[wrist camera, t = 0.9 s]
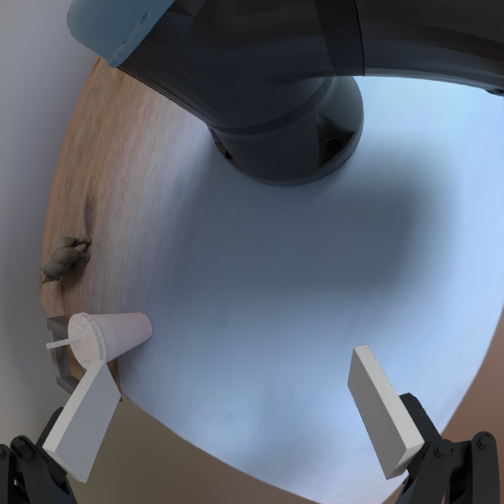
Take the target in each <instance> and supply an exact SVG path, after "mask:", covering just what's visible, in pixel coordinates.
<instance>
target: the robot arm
mask: <svg viewBox="0 0 504 504" xmlns="http://www.w3.org/2000/svg"><path fill="white" fill-rule="evenodd" d="M67 24H68V27H69V30H70V33H71V35H72V36H73V37H74V38H75V39H76V40H77V41H78V42H80V43H81V44H83V45H85V46H86V47H88V48H89V49H91V50H92V51H94V52H95V53H97V54H98V55H100V56H101V57H103V58H104V59H105V61H106V63H107V65H109V66H111V67H113V68H115V67H116V68H118V69H120V70H121V71H123V72H125V73H127V74H128V75H130V76H132V77H134V78H135V79H137V80H139V81H140V82H142V83H144V84H145V85H147V86H149V87H150V88H152V89H154V90H155V91H157V92H159V93H160V94H162V95H163V96H165V97H167V98H168V99H170V100H171V101H173V102H175V103H176V104H178V105H179V106H181V107H182V108H184V109H185V110H187V111H188V112H190V113H191V114H193V115H194V116H196V117H197V118H199V119H201V120H202V121H203V122H205V123H206V125H207V127H208V129H209V131H210V133H211V135H212V137H213V139H214V141H215V144H216V146H217V148H218V149H219V151H220V153H221V154H222V155H223V157H224V158H225V159H226V160H227V161H228V162H229V163H230V164H231V165H232V166H233V167H234V168H236V169H237V170H239V171H240V172H242V173H244V174H245V175H247V176H248V177H250V178H252V179H254V180H256V181H259V182H262V183H265V184H269V185H275V186H296V185H302V184H306V183H310V182H313V181H316V180H318V179H321V178H323V177H325V176H327V175H328V174H330V173H331V172H333V171H334V170H336V169H337V168H338V167H340V166H341V165H342V164H343V163H344V162H345V161H346V160H347V159H348V158H349V156H350V155H351V154H352V152H353V151H354V149H355V148H356V146H357V144H358V142H359V139H360V137H361V133H362V129H363V123H364V112H363V101H362V96H361V93H360V90H359V87H358V85H357V83H356V81H355V79H354V78H353V76H378V77H401V78H415V79H425V80H434V81H441V82H448V83H455V84H461V85H466V86H471V87H476V88H481V89H484V90H486V91H487V92H489V93H491V94H494V95H498V96H503V97H504V0H73V1H72V3H71V5H70V8H69V11H68V15H67ZM347 385H348V387H349V390H350V392H351V394H352V396H353V399H354V401H355V404H356V406H357V408H358V411H359V413H360V415H361V418H362V420H363V423H364V425H365V427H366V430H367V432H368V435H369V437H370V440H371V442H372V444H373V447H374V449H375V452H376V454H377V457H378V459H379V462H380V465H381V467H382V470H383V472H384V475H385V477H386V480H388V479H391V478H394V477H397V476H399V475H402V474H403V473H404V471H405V470H406V469H407V470H408V473H409V475H408V476H407V478H406V479H405V480H404V482H403V483H402V484H404V487H403V488H402V491H401V493H400V495H399V497H398V499H397V501H396V503H395V504H441V502H442V499H443V497H444V494H445V502H444V504H500V484H499V467H498V456H497V447H496V441H495V438H494V436H493V435H492V434H491V433H489V432H479V433H477V434H476V435H475V436H474V437H473V439H472V440H469V441H464V442H458V443H452V442H451V441H450V440H447V439H443V438H442V437H441V436H440V434H439V433H438V431H437V429H436V428H435V426H434V425H433V423H432V421H431V420H430V418H429V416H428V415H427V414H426V412H425V410H424V408H422V405H421V404H420V402H419V401H418V399H417V398H416V397H414V396H413V395H412V394H410V393H406V394H403V395H400V396H398V394H397V393H396V391H395V389H394V388H393V386H392V384H391V383H390V381H389V379H388V378H387V376H386V374H385V373H384V371H383V369H382V368H381V366H380V364H379V363H378V361H377V360H376V358H375V356H374V355H373V353H372V352H371V350H370V348H369V347H368V345H362V346H357V347H353V354H352V361H351V367H350V373H349V379H348V384H347ZM120 397H121V394H120V392H119V390H118V388H117V386H116V384H115V382H114V380H113V377H112V375H111V373H110V371H109V369H108V366H107V364H106V362H105V361H102V360H94V361H93V362H92V364H91V365H90V367H89V368H88V370H87V372H86V373H85V375H84V376H83V378H82V379H81V381H80V383H79V384H78V386H77V387H76V389H75V391H74V392H73V394H72V396H71V397H70V399H69V401H68V402H67V404H66V406H65V407H64V408H63V407H60V408H59V409H58V410H56V411H55V412H54V413H53V415H52V417H51V418H50V421H49V422H48V423H47V427H45V429H44V430H43V432H42V434H41V436H40V438H39V439H38V441H37V443H36V445H34V444H33V443H32V442H31V441H30V440H29V439H28V438H27V437H26V436H23V435H22V436H17V437H15V438H14V439H13V440H12V442H11V444H10V448H8V446H6V445H4V444H0V504H78V503H77V501H76V499H75V497H74V494H73V492H72V489H71V487H70V484H69V481H68V480H67V478H66V474H69V475H70V476H71V477H72V478H73V479H75V480H78V481H80V482H83V483H86V481H87V478H88V475H89V473H90V470H91V467H92V465H93V462H94V460H95V457H96V455H97V452H98V449H99V447H100V445H101V442H102V439H103V437H104V435H105V432H106V430H107V427H108V425H109V423H110V420H111V418H112V416H113V413H114V411H115V409H116V407H117V404H118V402H119V400H120ZM10 449H11V450H12V451H11V450H10ZM14 479H15V480H16V485H15V484H14Z"/></svg>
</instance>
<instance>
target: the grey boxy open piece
mask: <svg viewBox="0 0 504 504" xmlns="http://www.w3.org/2000/svg"><path fill="white" fill-rule="evenodd" d="M72 316H73V314H70V315H64V316H58V317H52V318H47V325H48V334H49V341H50V343H52V342H56V341H60V340H65V339H69V337H68V324H69V321H70V318H71V317H72ZM51 353H52V359H53V364H54V369H55V374H56V378H57V383H58V384H59V385H60V386H61V387H62V388H63V389H65V390H66V391H67V392H68V393H70V394H71V395H72V394H73V392H74V391H75V389H76V387H77V386H78V384H79V383H80V381H81V379H82V378H83V376H84V375H85V373H86V372H87V370H86V369H85V368H84V367H82V365H81V364H80V363H79V362H78V361H77V359H76V357H75V356H74V353H73V351H72V349H71V346H70V344H67V345H63V346H59V347H55V348H51ZM106 364H107V366H108V369H109V371H110V373H111V375H112V377H113V380H114V382H115V384H116V386H117V388H118V390H119V392H120V394H121V390H120V383H119V376H118V369H117V360H116V358H114V359H112V360H111V361H109V362H107V363H106ZM121 401H122V397H120V400H119V402H121ZM119 402H118V403H119Z"/></svg>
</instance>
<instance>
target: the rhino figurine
mask: <svg viewBox="0 0 504 504" xmlns="http://www.w3.org/2000/svg"><path fill="white" fill-rule="evenodd" d="M91 241H92V240H91V237H89V236H87V237H86V238H78V239H76V238H73V237H64V238H62V239H60V240H59V241H58V242H57V243H56V245H55V247H54V249H53V251H52V253H51V254H50V255H49V256H48V258H47V259H46V261H45V262H44V264H43V265H42V267H40V270H41V271H43V275H44V278H43V281H42V283H45V282H50V281H55V280H57V281H58V280H59V279H60V277H61V276H62V275H65V274H66V273H68V272H71V273H72V274H75V272H76V268H75V266H71V265H72V262H73V261H75V260H77V259H83V260H84V261H85V262H89V259H90V254H89V253H84V252H82V251H77V250H76V249H74V247H76V246H78V245H81V244H86V245H87V246H89V245H90V244H91ZM47 279H48V280H47ZM46 280H47V281H46Z"/></svg>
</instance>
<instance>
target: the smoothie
mask: <svg viewBox="0 0 504 504" xmlns="http://www.w3.org/2000/svg"><path fill="white" fill-rule="evenodd" d="M151 335H152V325H151V322H150V320H149V318H148V317H147V316H146V315H145V314H144V313H141V312H136V313H119V314H96V315H89V314H87V313H83V312H81V313H79V314H74V315H73V316H72V317H71V318H70V321H69V324H68V337H69V339H65V340H60V341H56V342H52V343H47V344H46V347H47V349H51V348H55V347H59V346H63V345H67V344H70V346H71V349H72V351H73V353H74V356H75V357H76V359H77V361H78V362H79V363H80V364H81V365H82V367H84V368H85V369H86V370H88V368H89V367H90V365H91V364H92V362H93V361H94V360H102V361H105V362H106V363H107V362H109V361H111V360H112V359H114V358H116V357H118V356H119V355H121V354H123V353H125V352H127V351H128V350H130V349H132V348H134V347H135V346H137V345H139V344H141V343H142V342H144V341H146V340H148V339H149V338H150V337H151Z"/></svg>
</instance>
